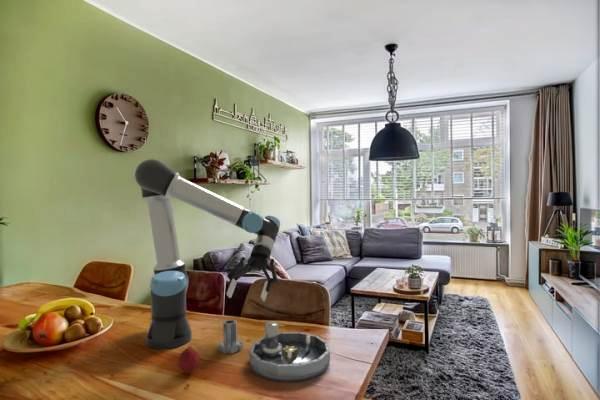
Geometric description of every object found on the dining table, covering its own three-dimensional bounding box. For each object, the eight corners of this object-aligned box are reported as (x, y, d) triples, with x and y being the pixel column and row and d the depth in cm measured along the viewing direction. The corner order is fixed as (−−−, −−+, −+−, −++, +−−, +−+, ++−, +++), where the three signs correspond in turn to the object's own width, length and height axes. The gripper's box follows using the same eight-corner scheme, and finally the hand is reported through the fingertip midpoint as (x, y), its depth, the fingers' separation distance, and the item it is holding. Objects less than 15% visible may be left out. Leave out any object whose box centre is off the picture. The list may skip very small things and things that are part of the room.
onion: (193, 379, 100) (192, 350, 100) (174, 377, 101) (174, 349, 101) (203, 369, 105) (202, 342, 105) (185, 367, 106) (184, 340, 106)
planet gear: (216, 354, 115) (216, 326, 115) (221, 344, 123) (221, 318, 123) (240, 353, 115) (239, 325, 115) (243, 343, 123) (243, 317, 123)
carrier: (245, 383, 97) (244, 344, 97) (255, 345, 121) (254, 315, 121) (333, 381, 98) (333, 343, 97) (325, 344, 122) (325, 314, 121)
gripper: (294, 256, 141) (280, 305, 127) (237, 253, 149) (219, 299, 135) (289, 244, 136) (274, 295, 122) (231, 242, 144) (211, 289, 130)
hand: (245, 297), depth 129 cm, fingers open, 13 cm apart
